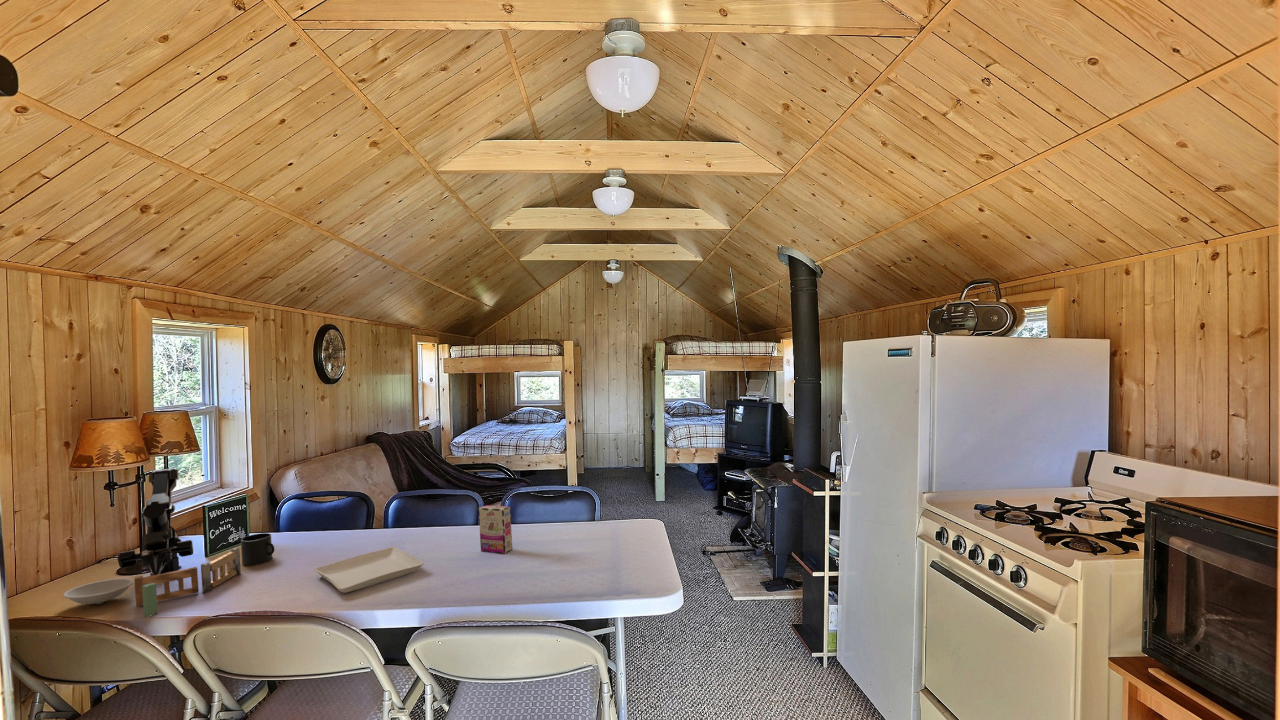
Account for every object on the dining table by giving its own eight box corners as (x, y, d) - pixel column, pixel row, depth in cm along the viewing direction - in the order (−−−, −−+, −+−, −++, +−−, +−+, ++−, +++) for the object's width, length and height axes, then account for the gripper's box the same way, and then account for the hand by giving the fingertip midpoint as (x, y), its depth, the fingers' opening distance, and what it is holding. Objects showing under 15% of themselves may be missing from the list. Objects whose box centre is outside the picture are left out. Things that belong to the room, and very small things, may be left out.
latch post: (153, 612, 175) (151, 582, 174) (157, 613, 174) (155, 583, 173) (143, 615, 172) (141, 585, 172) (148, 616, 171) (146, 586, 171)
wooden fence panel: (200, 593, 188) (198, 565, 188) (235, 573, 204) (234, 547, 204) (208, 592, 188) (206, 565, 188) (242, 572, 204) (240, 547, 204)
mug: (264, 566, 210) (263, 541, 210) (235, 565, 212) (234, 541, 212) (284, 556, 219) (283, 533, 219) (256, 556, 221) (255, 532, 221)
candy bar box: (513, 549, 216) (511, 506, 216) (505, 554, 212) (503, 509, 211) (488, 546, 220) (486, 504, 220) (480, 551, 216) (477, 507, 215)
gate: (198, 590, 188) (197, 565, 188) (198, 592, 187) (196, 566, 187) (136, 604, 180) (135, 577, 179) (136, 606, 178) (134, 579, 178)
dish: (49, 615, 176) (48, 599, 175) (90, 595, 190) (89, 580, 190) (110, 611, 177) (109, 595, 177) (147, 591, 191) (146, 576, 191)
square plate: (394, 555, 217) (393, 545, 217) (425, 573, 197) (425, 562, 197) (314, 577, 198) (313, 566, 198) (340, 600, 178) (339, 587, 178)
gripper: (116, 527, 184) (112, 572, 175) (190, 515, 195) (190, 557, 186) (122, 545, 191) (118, 589, 182) (193, 533, 201) (193, 574, 193)
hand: (155, 577), depth 185 cm, fingers closed
